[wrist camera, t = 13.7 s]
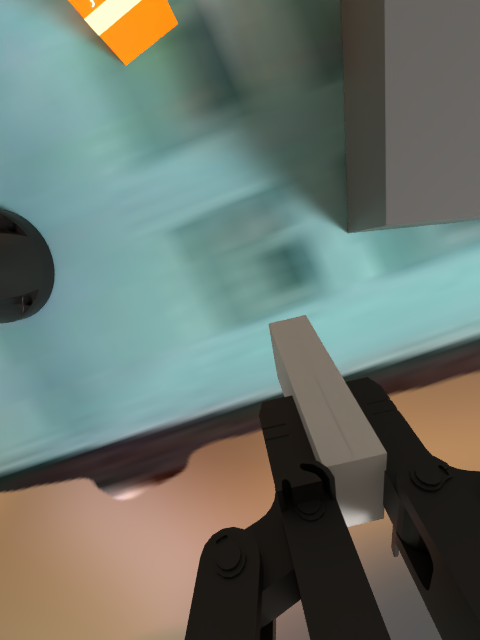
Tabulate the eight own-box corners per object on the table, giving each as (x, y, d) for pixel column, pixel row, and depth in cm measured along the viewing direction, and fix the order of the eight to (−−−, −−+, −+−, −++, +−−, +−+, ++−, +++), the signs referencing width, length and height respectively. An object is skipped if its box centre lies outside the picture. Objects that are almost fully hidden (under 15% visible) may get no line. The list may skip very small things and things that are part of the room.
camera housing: (348, 232, 41) (390, 224, 25) (340, -30, 36) (387, -264, 19) (457, 222, 39) (581, 205, 23) (466, -55, 34) (635, -337, 18)
